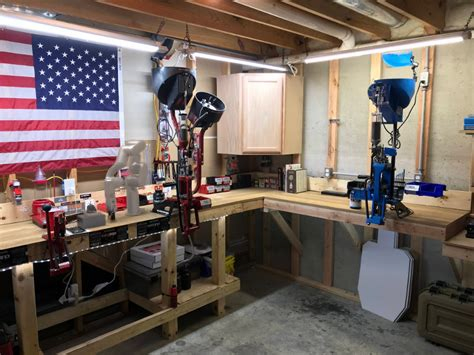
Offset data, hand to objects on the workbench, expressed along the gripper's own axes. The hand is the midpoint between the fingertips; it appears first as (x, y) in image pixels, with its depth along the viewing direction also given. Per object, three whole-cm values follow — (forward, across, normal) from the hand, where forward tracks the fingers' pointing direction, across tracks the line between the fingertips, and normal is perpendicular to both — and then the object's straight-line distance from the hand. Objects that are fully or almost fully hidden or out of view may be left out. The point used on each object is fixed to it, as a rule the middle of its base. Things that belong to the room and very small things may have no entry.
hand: (111, 219), depth 285 cm
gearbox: (+1, -1, +16) cm, 16 cm away
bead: (+1, 0, 0) cm, 1 cm away
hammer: (+2, +18, +19) cm, 27 cm away
